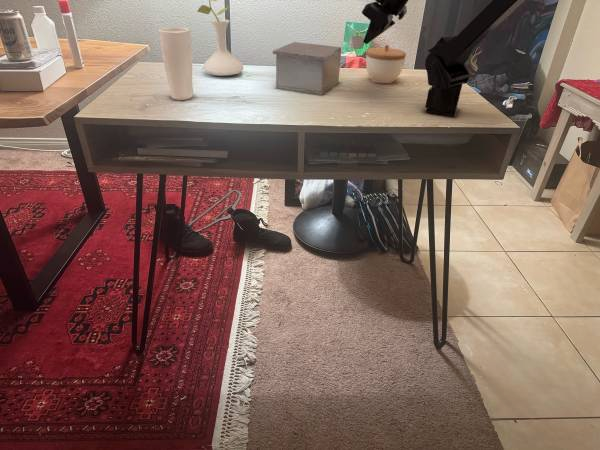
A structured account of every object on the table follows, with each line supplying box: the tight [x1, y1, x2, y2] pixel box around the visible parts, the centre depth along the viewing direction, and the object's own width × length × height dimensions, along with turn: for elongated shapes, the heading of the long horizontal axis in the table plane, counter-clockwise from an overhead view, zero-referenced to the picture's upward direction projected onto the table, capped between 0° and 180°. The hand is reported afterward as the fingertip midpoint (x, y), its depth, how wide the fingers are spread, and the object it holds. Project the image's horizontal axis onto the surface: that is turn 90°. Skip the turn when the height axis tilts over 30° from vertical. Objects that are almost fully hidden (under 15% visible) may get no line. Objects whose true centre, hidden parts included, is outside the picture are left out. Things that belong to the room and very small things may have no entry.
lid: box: [272, 41, 342, 60], centre depth 110 cm, size 14×14×1 cm
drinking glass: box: [158, 26, 194, 101], centre depth 98 cm, size 7×7×15 cm
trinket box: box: [365, 44, 407, 84], centre depth 119 cm, size 11×11×9 cm
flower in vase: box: [196, 0, 245, 77], centre depth 115 cm, size 13×11×25 cm
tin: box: [275, 50, 342, 96], centre depth 113 cm, size 13×14×8 cm
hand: (365, 42), depth 105 cm, fingers closed
